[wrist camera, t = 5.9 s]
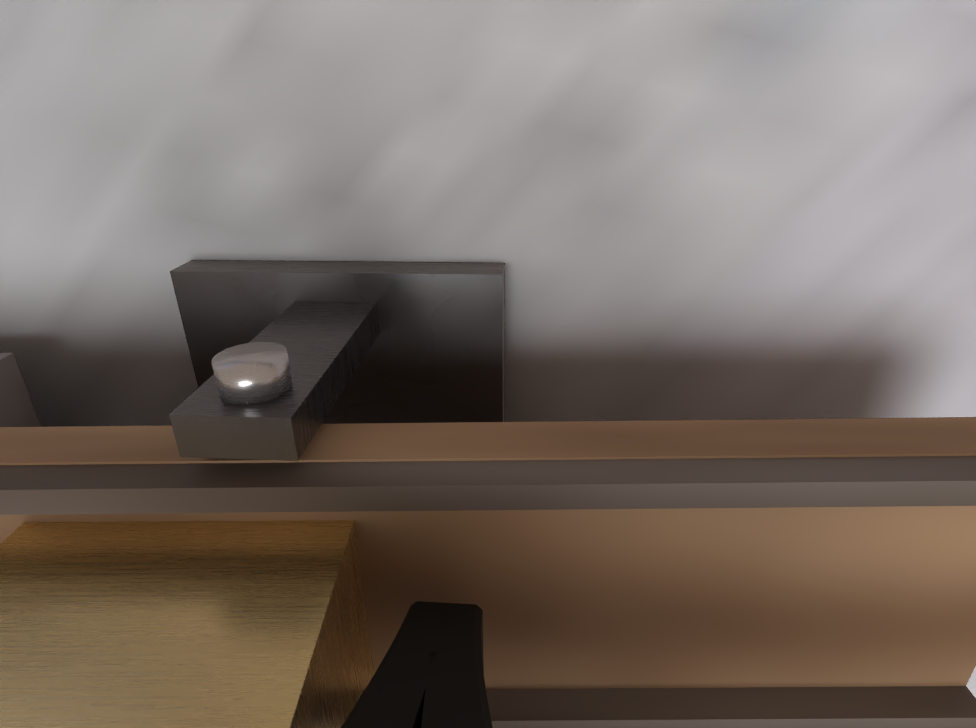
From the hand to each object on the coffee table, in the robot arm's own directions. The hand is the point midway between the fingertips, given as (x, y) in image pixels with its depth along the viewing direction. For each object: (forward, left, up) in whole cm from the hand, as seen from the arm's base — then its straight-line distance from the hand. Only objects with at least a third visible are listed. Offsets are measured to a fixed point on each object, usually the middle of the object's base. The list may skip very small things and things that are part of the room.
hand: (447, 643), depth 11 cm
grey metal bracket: (0, +3, -7) cm, 8 cm away
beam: (0, +4, -6) cm, 7 cm away
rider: (0, +5, -1) cm, 5 cm away
